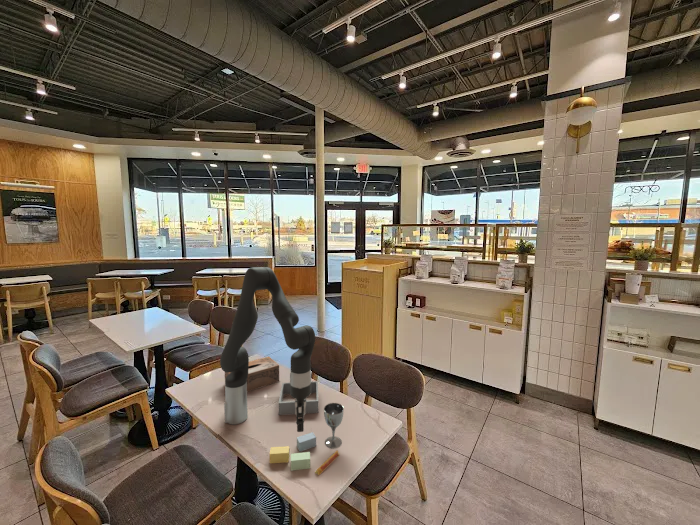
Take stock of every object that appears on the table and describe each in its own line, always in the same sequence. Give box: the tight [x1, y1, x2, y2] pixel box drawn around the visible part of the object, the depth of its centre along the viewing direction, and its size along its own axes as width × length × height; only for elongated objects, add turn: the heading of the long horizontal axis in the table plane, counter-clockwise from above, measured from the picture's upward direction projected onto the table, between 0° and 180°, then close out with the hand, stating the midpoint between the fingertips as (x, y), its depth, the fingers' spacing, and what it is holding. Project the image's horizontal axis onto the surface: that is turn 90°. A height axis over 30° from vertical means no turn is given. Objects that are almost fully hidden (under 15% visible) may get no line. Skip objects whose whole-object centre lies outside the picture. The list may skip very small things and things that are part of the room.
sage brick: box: [290, 451, 311, 472], centre depth 112 cm, size 7×4×4 cm, turn 100°
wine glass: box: [323, 402, 345, 450], centre depth 124 cm, size 8×8×15 cm
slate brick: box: [296, 431, 317, 453], centre depth 122 cm, size 7×4×4 cm, turn 119°
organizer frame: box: [278, 380, 319, 416], centre depth 152 cm, size 19×19×6 cm
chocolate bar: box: [314, 450, 340, 476], centre depth 113 cm, size 3×12×2 cm, turn 145°
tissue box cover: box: [224, 356, 280, 393], centre depth 170 cm, size 26×14×10 cm, turn 128°
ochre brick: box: [269, 445, 290, 464], centre depth 115 cm, size 7×4×4 cm, turn 96°
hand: (300, 423), depth 110 cm, fingers open, 8 cm apart
